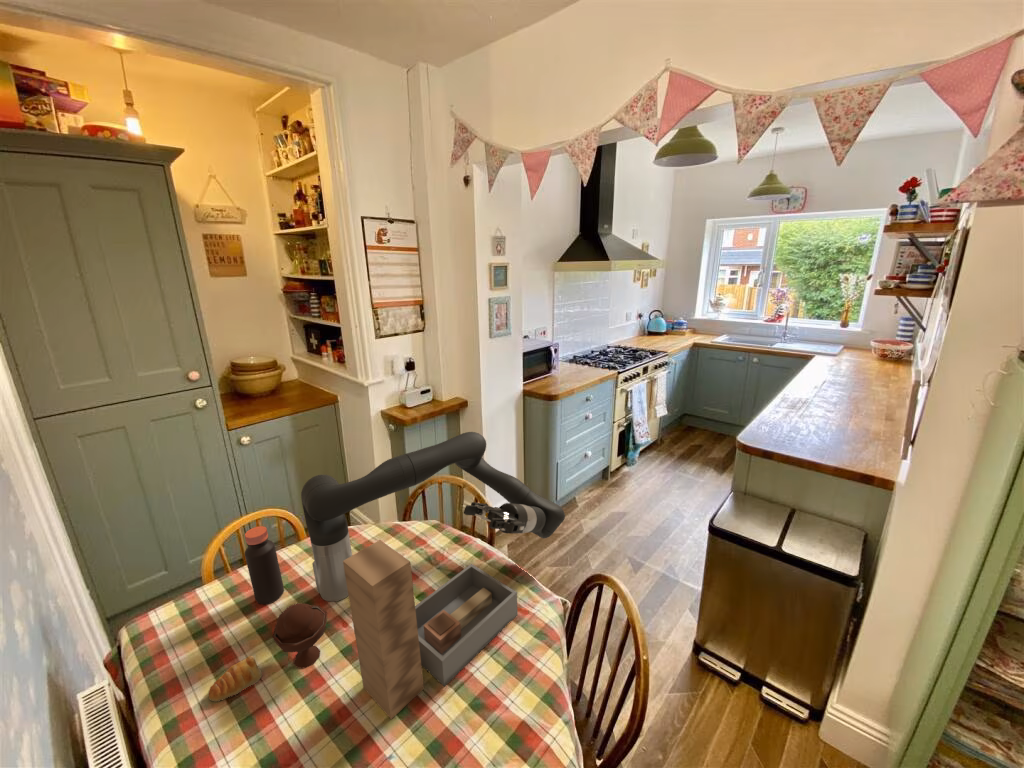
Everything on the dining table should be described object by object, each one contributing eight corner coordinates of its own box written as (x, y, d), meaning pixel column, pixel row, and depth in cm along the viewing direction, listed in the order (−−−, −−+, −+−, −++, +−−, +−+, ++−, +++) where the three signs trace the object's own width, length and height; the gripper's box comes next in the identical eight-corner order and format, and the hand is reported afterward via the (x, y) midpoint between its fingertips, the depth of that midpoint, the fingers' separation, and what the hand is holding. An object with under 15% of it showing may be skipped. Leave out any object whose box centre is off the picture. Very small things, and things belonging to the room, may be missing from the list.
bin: (472, 584, 117) (471, 563, 115) (517, 614, 107) (516, 592, 105) (399, 644, 99) (396, 620, 97) (444, 686, 89) (442, 661, 87)
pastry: (215, 712, 85) (211, 698, 84) (205, 691, 90) (200, 678, 89) (265, 678, 92) (262, 665, 91) (253, 660, 96) (250, 647, 95)
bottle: (289, 591, 116) (276, 529, 110) (264, 609, 110) (249, 543, 104) (275, 582, 119) (261, 520, 113) (250, 598, 114) (234, 534, 108)
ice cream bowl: (343, 643, 100) (334, 591, 96) (307, 687, 90) (295, 631, 86) (307, 631, 103) (297, 580, 99) (268, 672, 93) (255, 618, 89)
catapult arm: (479, 593, 112) (479, 580, 111) (496, 605, 108) (495, 591, 107) (424, 639, 99) (423, 624, 98) (441, 654, 96) (440, 639, 94)
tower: (395, 660, 95) (379, 539, 86) (423, 688, 89) (410, 561, 80) (363, 687, 90) (342, 561, 80) (391, 719, 83) (372, 586, 74)
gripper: (501, 495, 118) (462, 491, 105) (542, 514, 109) (505, 512, 96) (492, 522, 117) (452, 520, 105) (533, 543, 108) (495, 544, 96)
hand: (478, 516), depth 101 cm, fingers open, 8 cm apart
